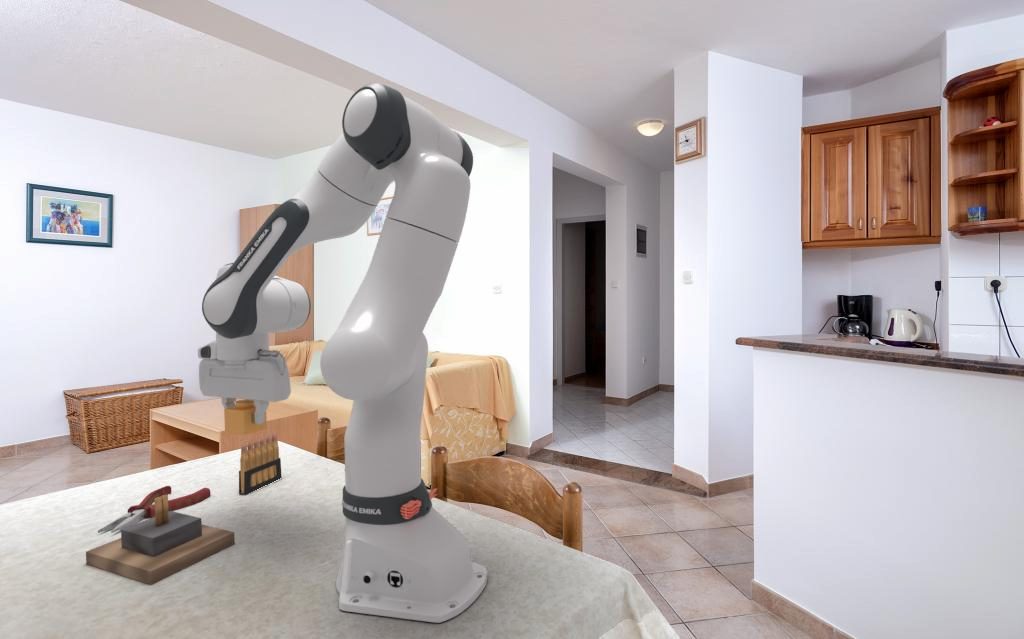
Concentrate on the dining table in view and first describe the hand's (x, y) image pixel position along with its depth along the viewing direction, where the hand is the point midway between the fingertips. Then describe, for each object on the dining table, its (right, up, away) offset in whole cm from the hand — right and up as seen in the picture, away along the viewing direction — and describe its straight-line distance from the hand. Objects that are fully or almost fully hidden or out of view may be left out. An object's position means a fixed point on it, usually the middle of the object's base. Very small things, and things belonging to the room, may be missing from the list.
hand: (245, 421), depth 99 cm
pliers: (-22, -20, +6) cm, 30 cm away
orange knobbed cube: (0, -2, 0) cm, 2 cm away
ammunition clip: (-6, -19, +19) cm, 27 cm away
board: (-8, -20, -12) cm, 24 cm away
